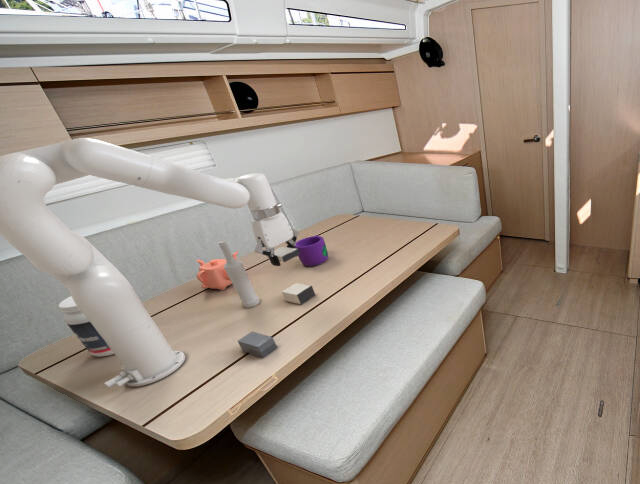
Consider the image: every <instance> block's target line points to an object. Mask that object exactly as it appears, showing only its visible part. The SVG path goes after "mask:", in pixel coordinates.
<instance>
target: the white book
mask: <svg viewBox="0 0 640 484" xmlns="http://www.w3.org/2000/svg"><path fill="white" fill-rule="evenodd" d="M274 253H275V255H277V257H278V260H279V262H280V263H281V262H282V263H286V262H288V261H290V260H292V259H294V258H297V257H298V256H297V255H299V254H300V252H299V250H298V249H295V248H288V247H287V246H280V247H278V248H276V249H274ZM296 256H297V257H296ZM266 257H267V260H269V261H270V259H269V257H268V256H266Z"/></svg>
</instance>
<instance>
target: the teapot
mask: <svg viewBox="0 0 640 484" xmlns="http://www.w3.org/2000/svg"><path fill="white" fill-rule="evenodd" d="M239 252H240V251H238V250H236V251H235V252H233V254H232V256H233V258H235V259H236V260H238V258H237V257H238V253H239ZM195 261H196V262H197V263H198V264H199V267H198V273H197V274H196V279H197V280H198V281H199V282H201V288H203V289H207V288H209V289H214V290H215V289H216V290H219V291H223V290H225V289H227V287H228V286H231V285H233V284H232V282H231V280H230V278H229V276H228V274H227V272H226V271H225V269H224V265H225V264H226V261H227V260H226V258H215V259H210V260H209V261H208V262H207V263H205V261H204V260H202V259H195Z"/></svg>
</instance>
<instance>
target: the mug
mask: <svg viewBox="0 0 640 484" xmlns="http://www.w3.org/2000/svg"><path fill="white" fill-rule="evenodd" d="M295 243H296V245H295V248H296V249H298V250H299V252H300V254H299V255H298V256H297V257H298V259H299V261H300V262H301V264H302V265H303V266H306V267H316V266H319V265H321V264H323V263H325V262H327V260H328V258H329V253H328V252H329V251H328V249H327V246H326V242H325V240H324V237H323V236H320V235H318V234H317V235H316V234H315V235H314V236H313V235H312V236H308V237H305V238H301V239H299V240H298V241H297V240H296V242H295Z"/></svg>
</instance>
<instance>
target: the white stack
mask: <svg viewBox="0 0 640 484" xmlns="http://www.w3.org/2000/svg"><path fill="white" fill-rule="evenodd" d="M281 294H282V295H283V299H284V301H285V302H288V303H295V304H298V305H303V304H304V303H306V302H308V301H309V300H310V299H312V298H313V297H315V296H316V293H315V290H314V288H313V285H308V284H304V283H298V282H296V283H294V284H292V285H291V286H288V287H287V288H285V289H283V290H282V291H281Z"/></svg>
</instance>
